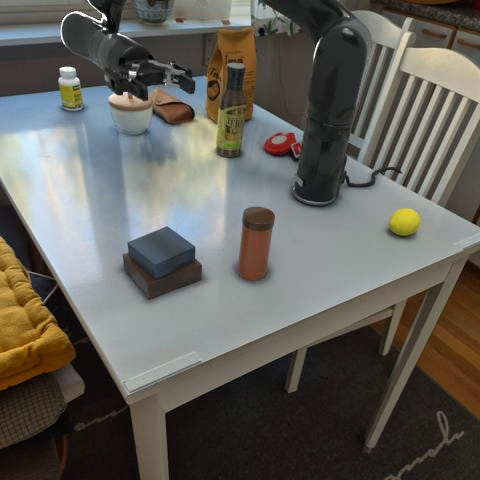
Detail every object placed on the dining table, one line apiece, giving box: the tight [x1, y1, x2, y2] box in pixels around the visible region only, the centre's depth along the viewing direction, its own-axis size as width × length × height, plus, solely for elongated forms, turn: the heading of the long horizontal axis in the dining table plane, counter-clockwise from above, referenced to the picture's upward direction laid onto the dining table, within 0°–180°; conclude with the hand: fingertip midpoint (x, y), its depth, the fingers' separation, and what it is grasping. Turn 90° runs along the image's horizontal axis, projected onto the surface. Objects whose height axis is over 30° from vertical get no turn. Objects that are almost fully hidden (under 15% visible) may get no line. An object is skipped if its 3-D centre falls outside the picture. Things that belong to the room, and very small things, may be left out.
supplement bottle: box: [58, 66, 84, 112], centre depth 125 cm, size 5×5×10 cm
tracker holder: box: [263, 131, 302, 160], centre depth 118 cm, size 12×4×10 cm
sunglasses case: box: [148, 86, 196, 125], centre depth 131 cm, size 18×7×7 cm, turn 41°
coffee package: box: [205, 26, 258, 124], centre depth 125 cm, size 10×12×22 cm
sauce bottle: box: [215, 63, 246, 158], centre depth 109 cm, size 6×6×20 cm
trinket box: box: [107, 92, 153, 136], centre depth 118 cm, size 11×11×9 cm
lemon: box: [388, 207, 421, 236], centre depth 93 cm, size 7×5×5 cm
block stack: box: [122, 225, 203, 300], centre depth 78 cm, size 10×9×6 cm
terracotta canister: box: [237, 206, 276, 281], centre depth 78 cm, size 5×5×11 cm
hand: (170, 91), depth 76 cm, fingers open, 8 cm apart
